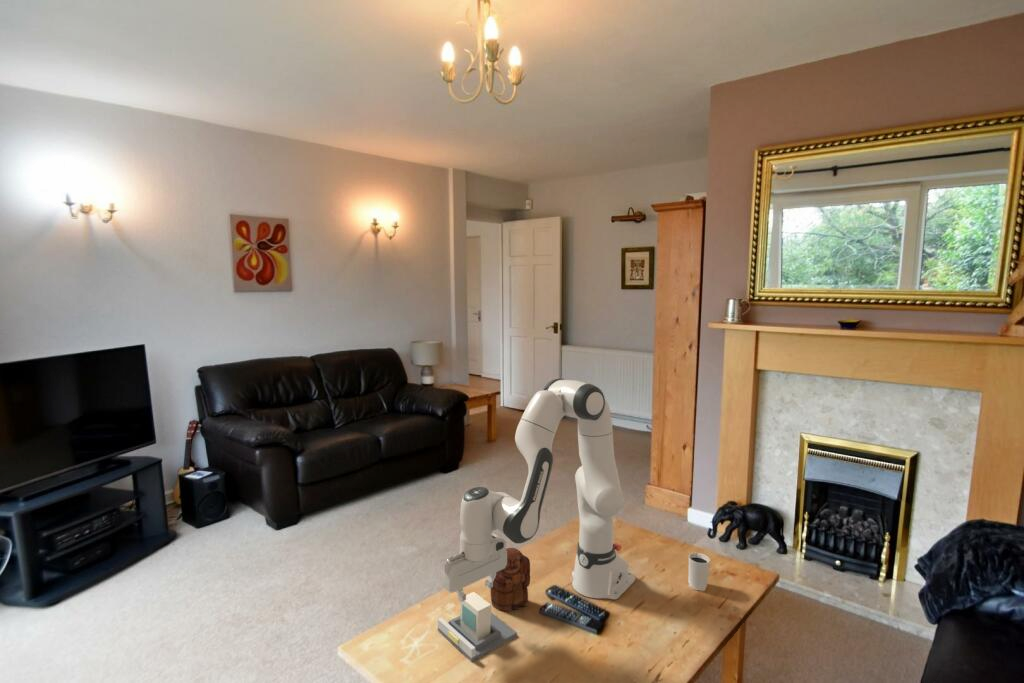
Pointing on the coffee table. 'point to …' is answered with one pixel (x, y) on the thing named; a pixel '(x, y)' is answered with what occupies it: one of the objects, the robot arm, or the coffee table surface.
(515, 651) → the coffee table surface
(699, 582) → the white cup
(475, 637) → the product carton
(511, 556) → the wooden figurine
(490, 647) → the display base
